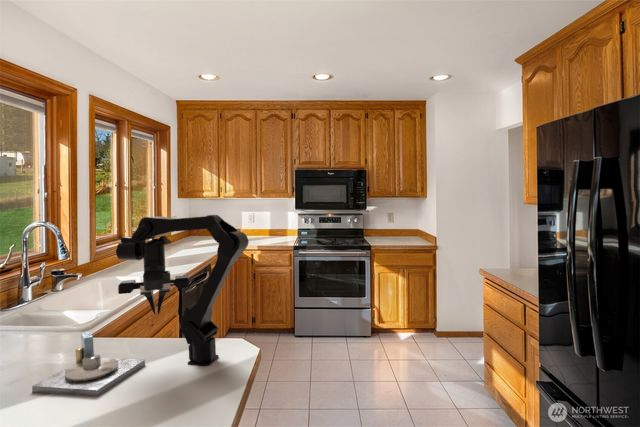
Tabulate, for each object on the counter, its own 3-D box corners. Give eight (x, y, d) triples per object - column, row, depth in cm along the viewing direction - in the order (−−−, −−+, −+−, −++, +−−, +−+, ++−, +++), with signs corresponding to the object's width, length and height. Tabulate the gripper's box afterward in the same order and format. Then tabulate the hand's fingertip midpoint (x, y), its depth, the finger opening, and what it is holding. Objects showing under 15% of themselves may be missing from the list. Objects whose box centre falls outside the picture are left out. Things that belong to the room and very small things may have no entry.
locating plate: (145, 365, 111) (144, 343, 110) (97, 396, 93) (95, 371, 93) (88, 362, 114) (87, 341, 114) (32, 392, 96) (31, 367, 96)
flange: (123, 371, 103) (121, 340, 102) (68, 385, 95) (66, 352, 95) (110, 355, 114) (109, 327, 114) (60, 367, 106) (59, 337, 106)
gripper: (113, 266, 104) (116, 326, 104) (188, 261, 110) (191, 317, 110) (120, 261, 114) (122, 315, 115) (188, 256, 120) (190, 307, 121)
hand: (156, 313), depth 115 cm, fingers closed
